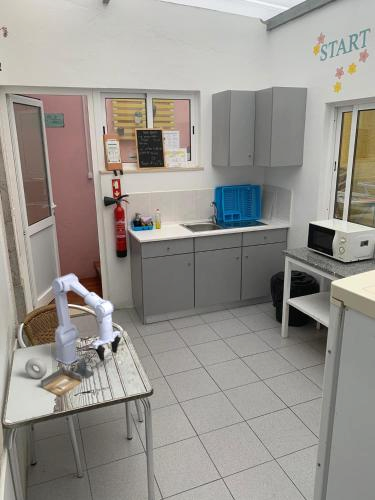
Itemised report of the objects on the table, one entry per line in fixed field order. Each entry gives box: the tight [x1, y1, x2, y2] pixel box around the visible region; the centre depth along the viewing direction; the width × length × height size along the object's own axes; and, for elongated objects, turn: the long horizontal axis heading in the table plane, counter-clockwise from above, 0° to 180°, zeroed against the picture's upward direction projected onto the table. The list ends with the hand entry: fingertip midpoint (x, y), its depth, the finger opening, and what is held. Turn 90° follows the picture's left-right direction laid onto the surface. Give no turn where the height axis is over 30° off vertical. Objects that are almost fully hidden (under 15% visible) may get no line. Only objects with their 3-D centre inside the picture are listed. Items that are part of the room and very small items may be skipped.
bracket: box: [76, 358, 95, 380], centre depth 175 cm, size 6×4×6 cm, turn 57°
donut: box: [24, 357, 48, 379], centre depth 173 cm, size 10×4×10 cm, turn 81°
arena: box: [40, 366, 83, 397], centre depth 168 cm, size 12×12×4 cm
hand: (108, 356), depth 172 cm, fingers open, 7 cm apart
